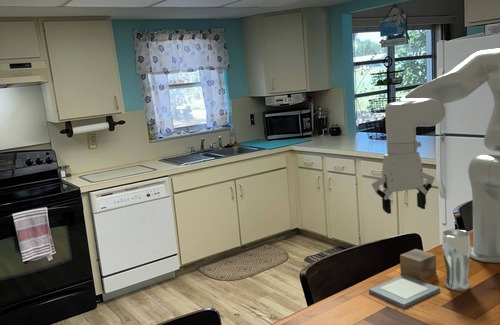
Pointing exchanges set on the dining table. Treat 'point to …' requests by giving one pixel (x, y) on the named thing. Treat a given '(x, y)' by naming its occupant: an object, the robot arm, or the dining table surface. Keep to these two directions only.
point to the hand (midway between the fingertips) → (404, 210)
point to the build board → (404, 290)
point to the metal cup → (456, 258)
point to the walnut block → (418, 264)
